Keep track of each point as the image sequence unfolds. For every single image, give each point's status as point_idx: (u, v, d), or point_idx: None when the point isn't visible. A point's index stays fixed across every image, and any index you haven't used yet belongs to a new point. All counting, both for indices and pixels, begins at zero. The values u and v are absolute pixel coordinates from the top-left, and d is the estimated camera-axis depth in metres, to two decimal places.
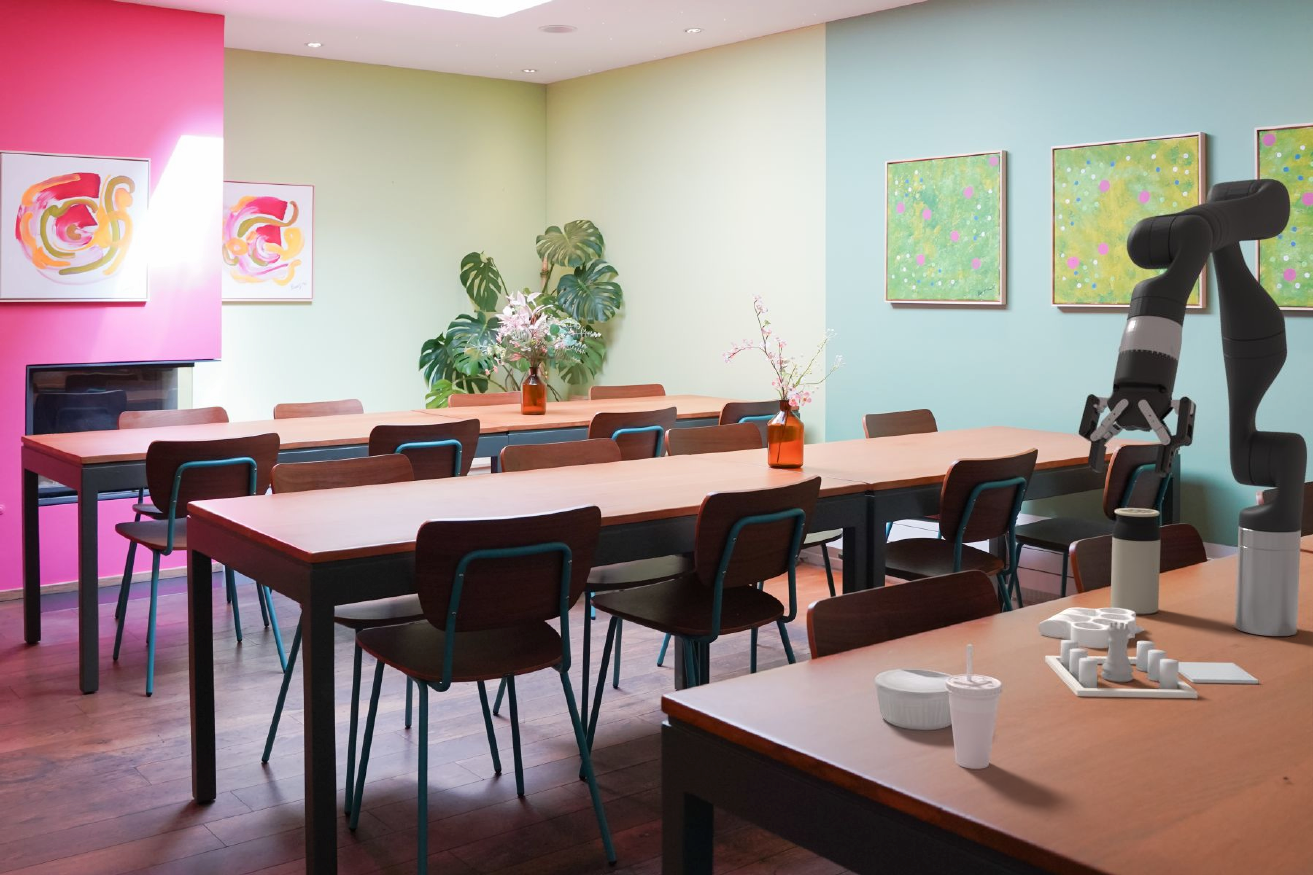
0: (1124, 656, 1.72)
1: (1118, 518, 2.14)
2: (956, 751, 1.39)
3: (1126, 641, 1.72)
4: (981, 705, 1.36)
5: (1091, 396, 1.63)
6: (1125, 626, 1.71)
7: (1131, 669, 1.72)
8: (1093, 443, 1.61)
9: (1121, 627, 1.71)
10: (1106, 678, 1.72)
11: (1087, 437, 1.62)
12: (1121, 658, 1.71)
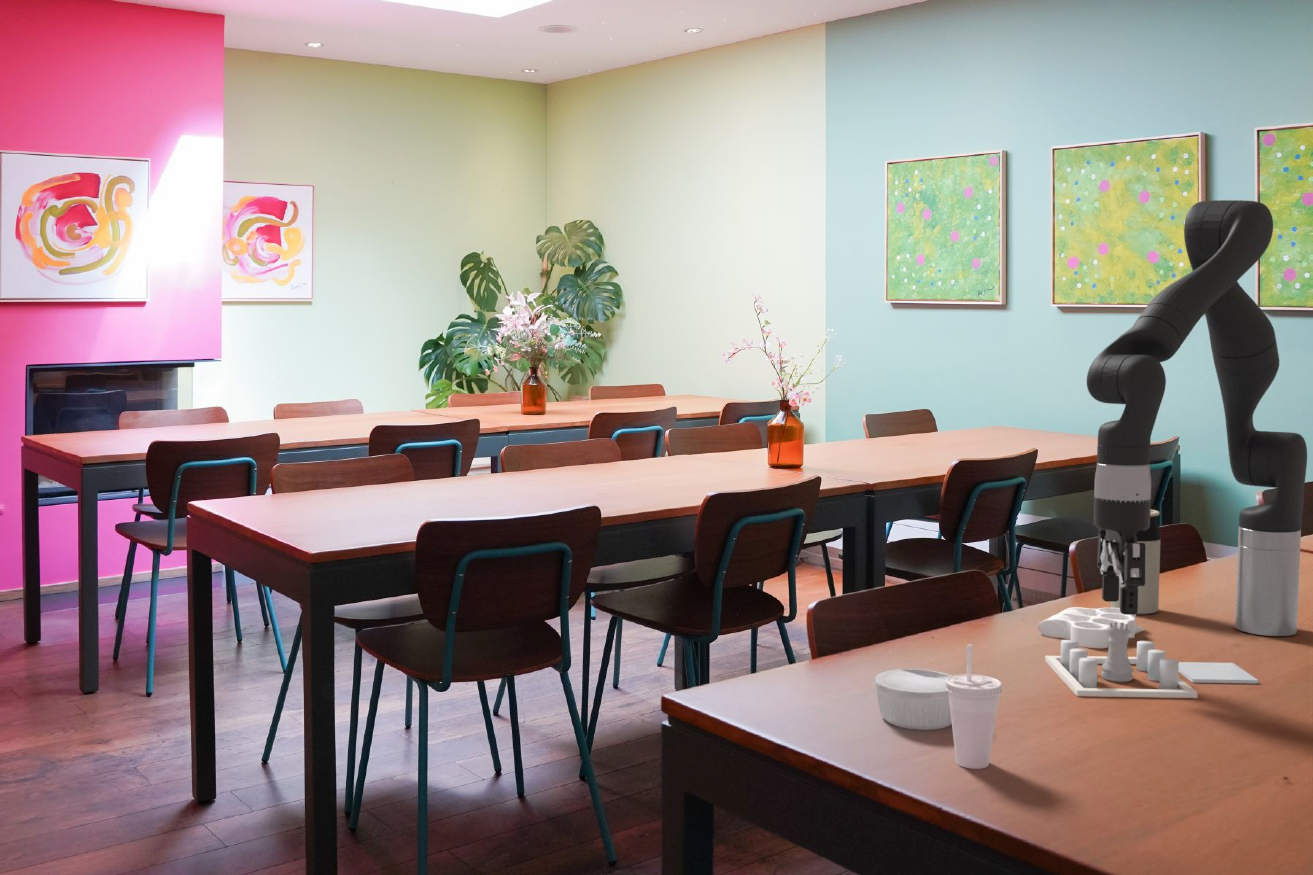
0: (1124, 656, 1.72)
1: None
2: (956, 751, 1.39)
3: (1126, 641, 1.72)
4: (981, 705, 1.36)
5: (1098, 531, 1.78)
6: (1125, 626, 1.71)
7: (1131, 669, 1.72)
8: (1104, 575, 1.77)
9: (1121, 627, 1.71)
10: (1106, 678, 1.72)
11: None
12: (1121, 658, 1.71)
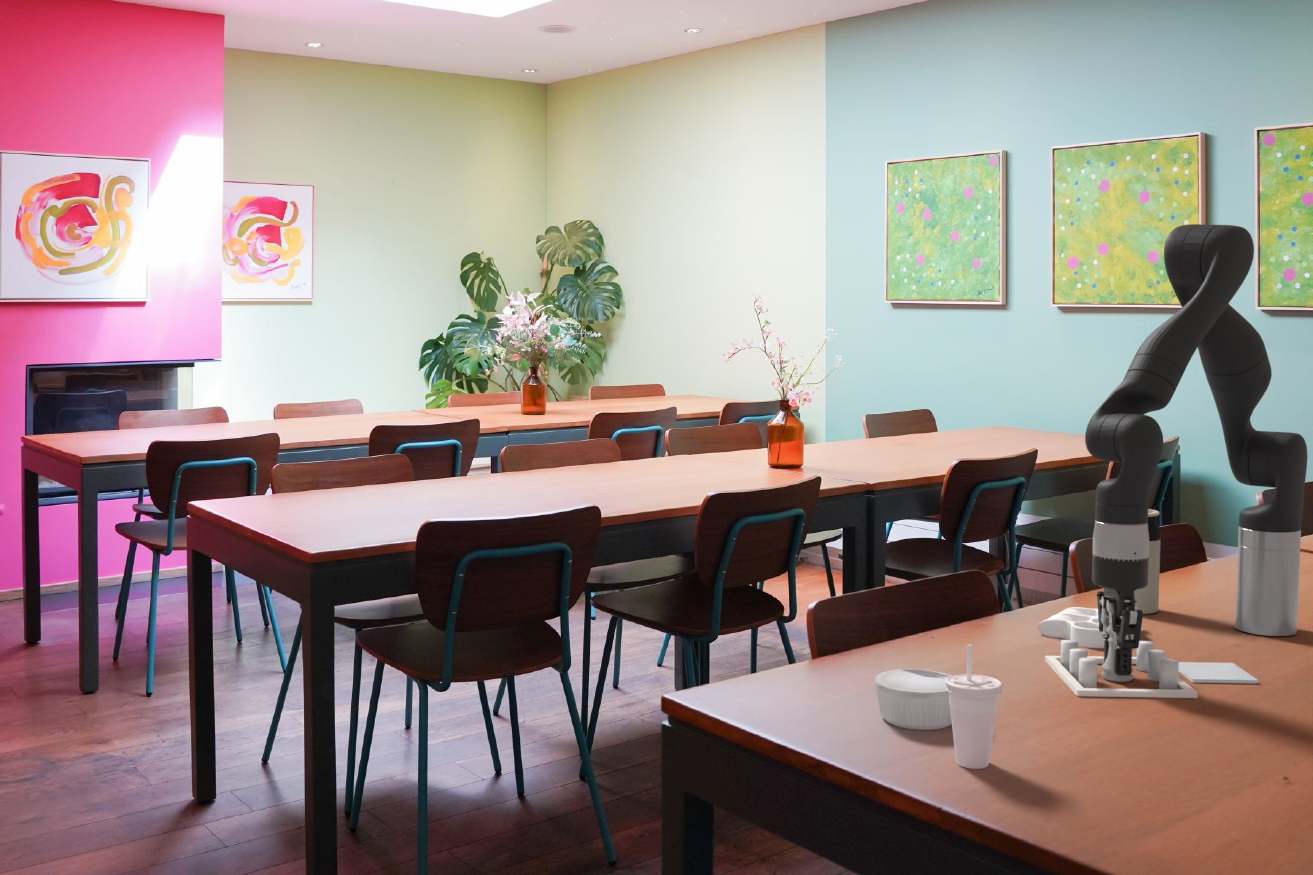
0: None
1: None
2: (956, 751, 1.39)
3: None
4: (981, 705, 1.36)
5: (1097, 593, 1.78)
6: None
7: (1131, 669, 1.72)
8: (1106, 639, 1.76)
9: None
10: (1106, 678, 1.72)
11: None
12: None
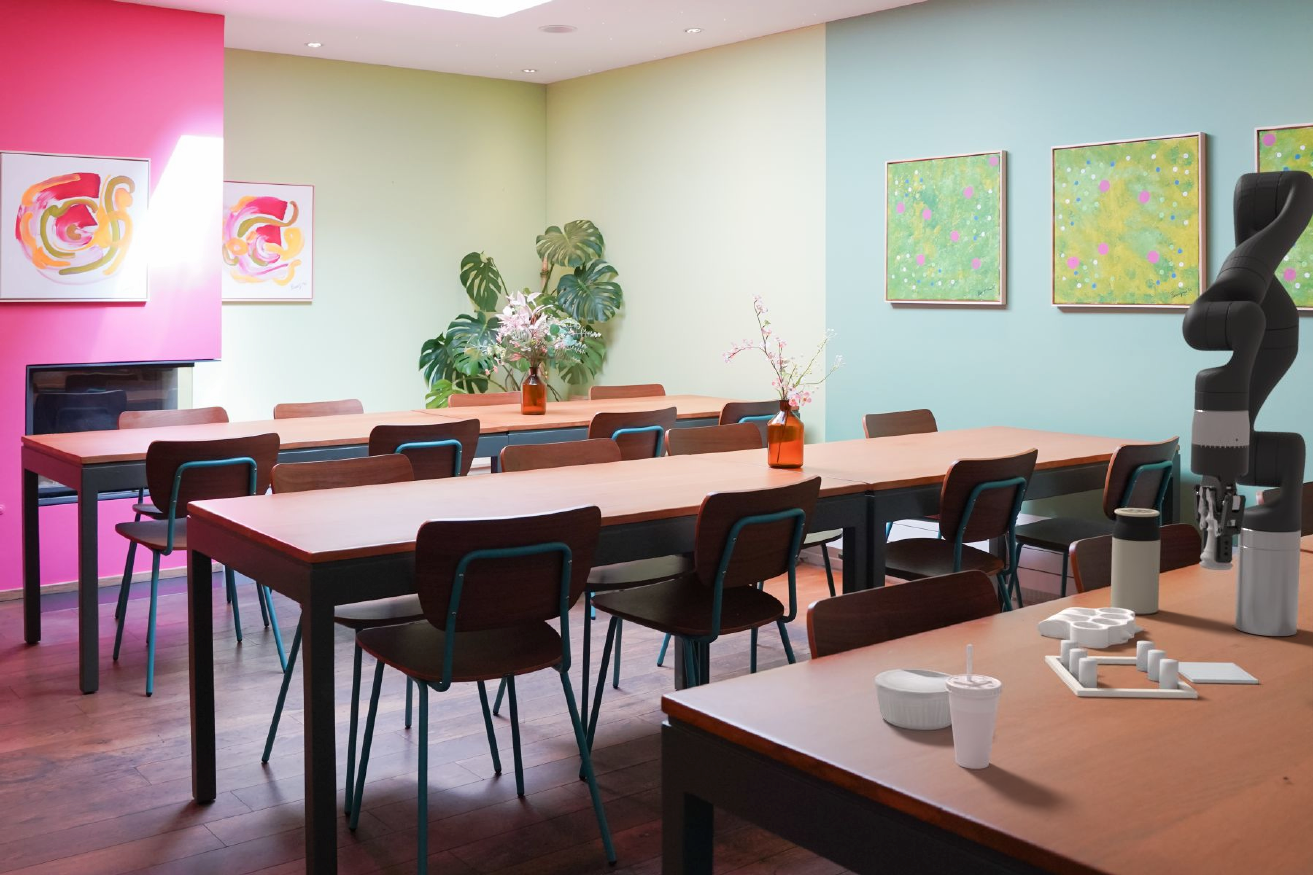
0: None
1: (1118, 518, 2.14)
2: (956, 751, 1.39)
3: None
4: (981, 705, 1.36)
5: (1193, 486, 1.79)
6: None
7: None
8: (1203, 530, 1.76)
9: None
10: (1206, 567, 1.73)
11: None
12: None
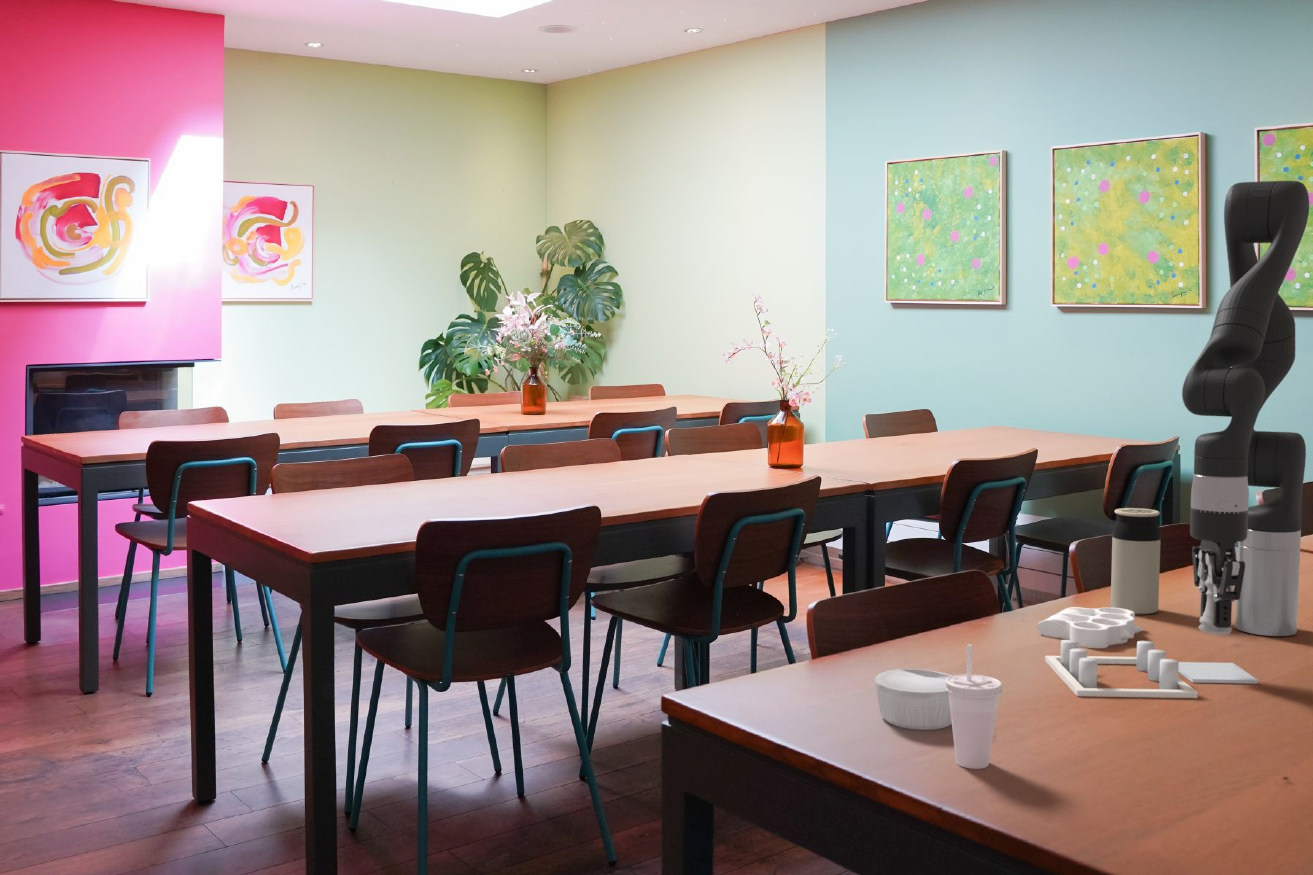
0: None
1: (1118, 518, 2.14)
2: (956, 751, 1.39)
3: None
4: (981, 705, 1.36)
5: (1192, 548, 1.80)
6: None
7: None
8: (1202, 593, 1.77)
9: None
10: (1205, 631, 1.73)
11: None
12: None
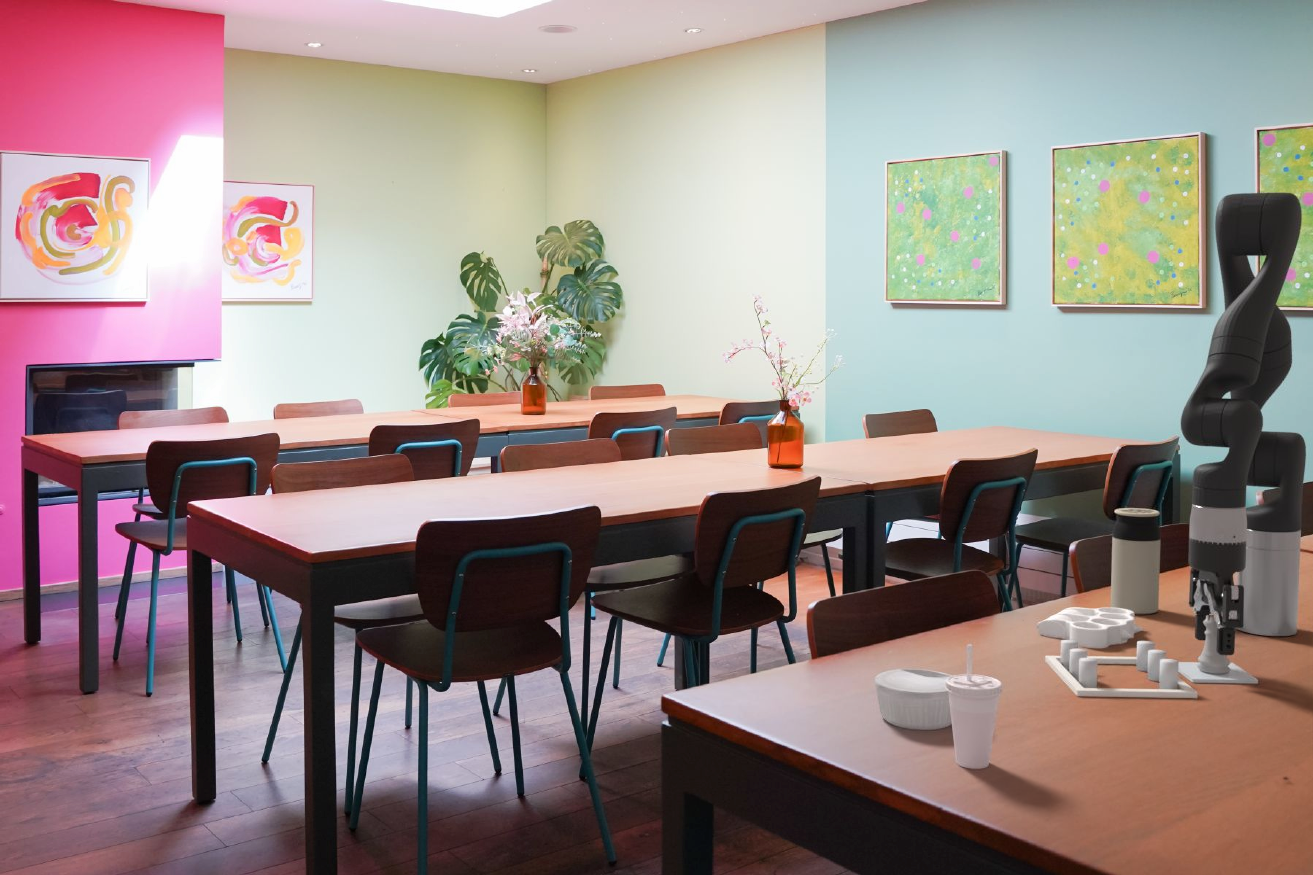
0: None
1: (1118, 518, 2.14)
2: (956, 751, 1.39)
3: None
4: (981, 705, 1.36)
5: (1191, 570, 1.80)
6: None
7: (1228, 661, 1.73)
8: (1197, 614, 1.79)
9: None
10: (1203, 670, 1.74)
11: None
12: None
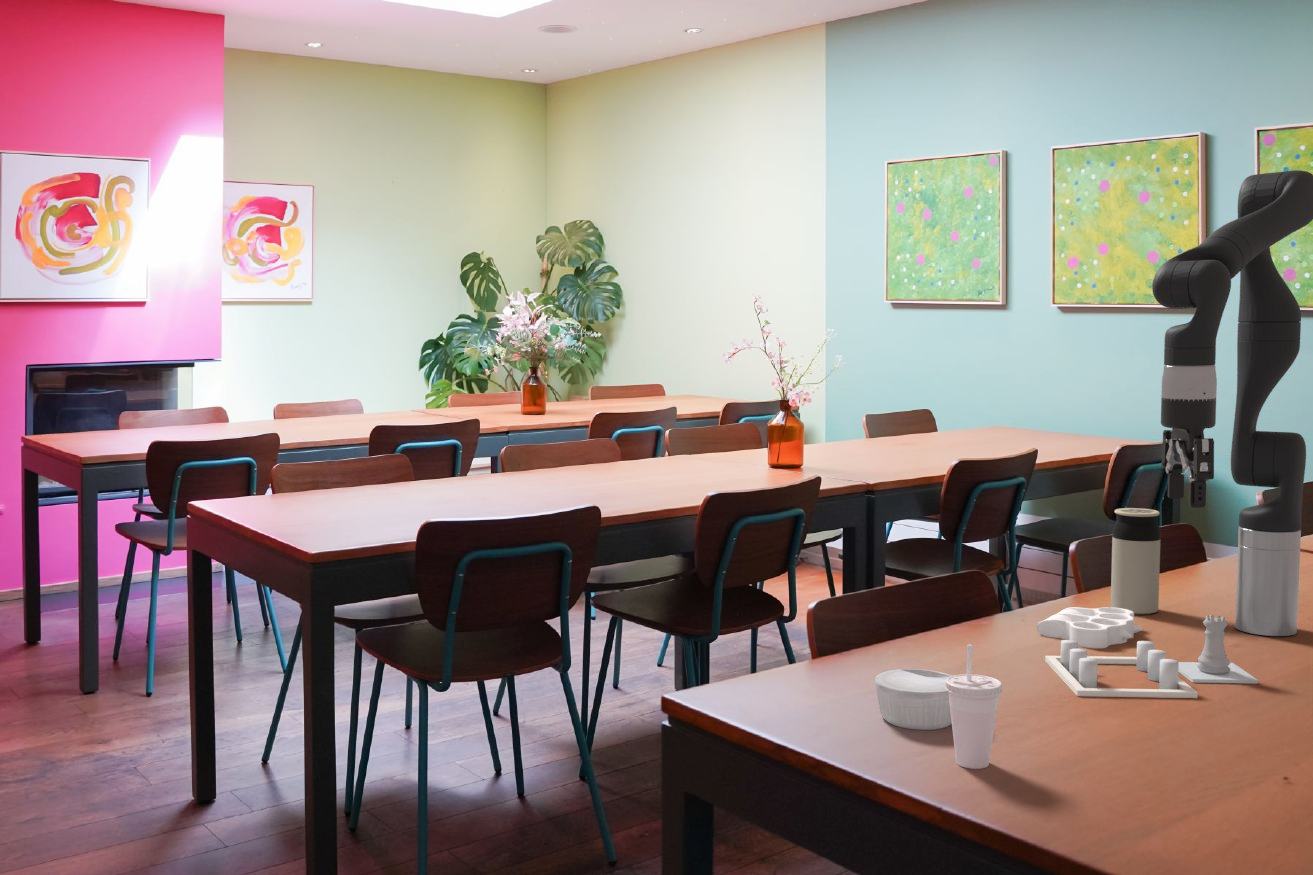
0: (1222, 649, 1.73)
1: (1118, 518, 2.14)
2: (956, 751, 1.39)
3: (1223, 634, 1.73)
4: (981, 705, 1.36)
5: (1163, 432, 1.86)
6: (1222, 619, 1.73)
7: (1228, 661, 1.73)
8: None
9: (1219, 620, 1.73)
10: (1203, 670, 1.74)
11: None
12: (1219, 650, 1.73)
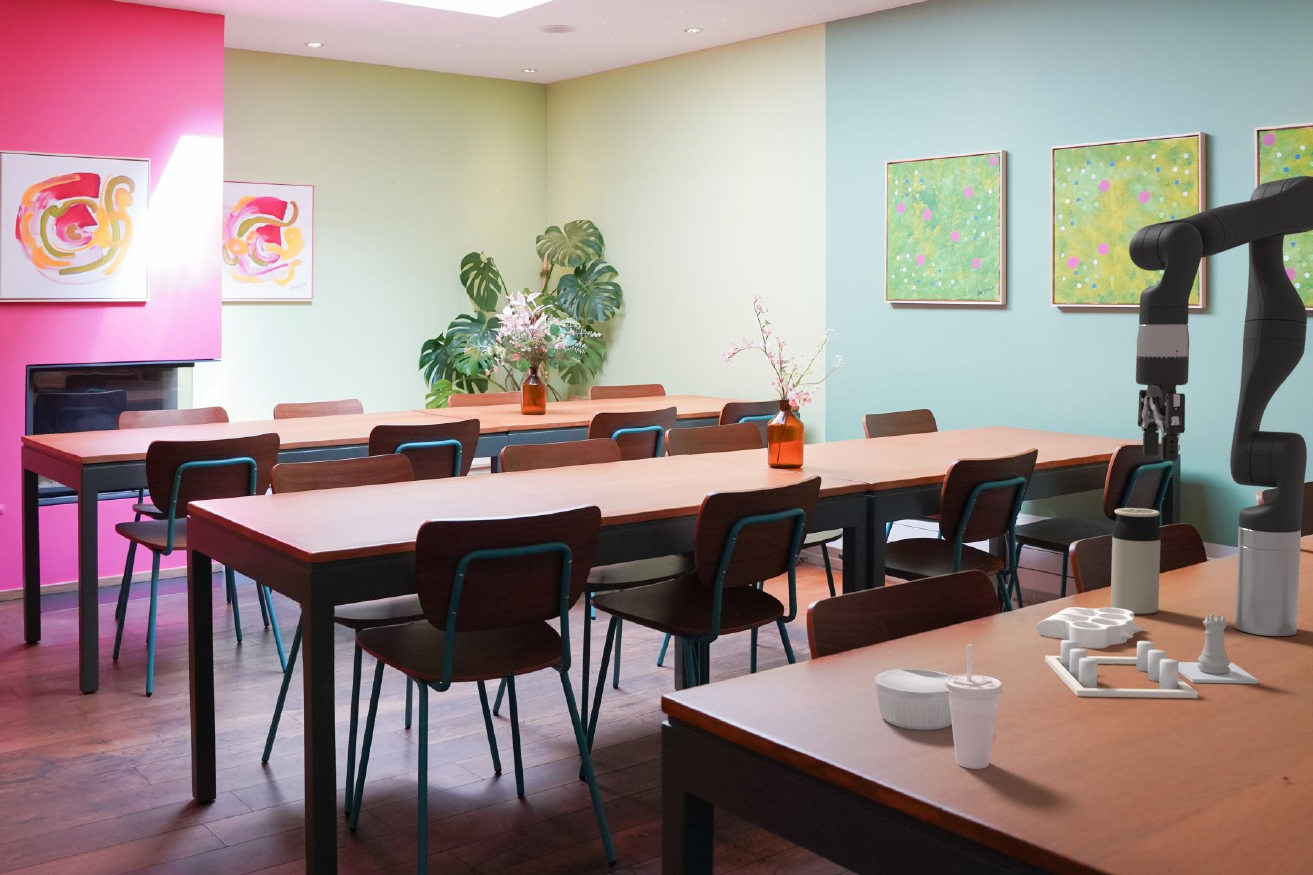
0: (1222, 649, 1.73)
1: (1118, 518, 2.14)
2: (956, 751, 1.39)
3: (1223, 634, 1.73)
4: (981, 705, 1.36)
5: (1139, 392, 1.93)
6: (1222, 619, 1.73)
7: (1228, 661, 1.73)
8: None
9: (1218, 620, 1.73)
10: (1203, 670, 1.74)
11: None
12: (1219, 650, 1.73)
